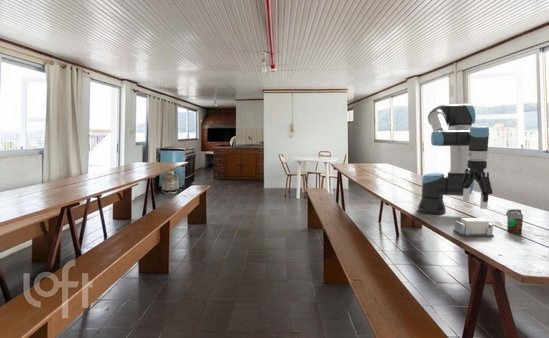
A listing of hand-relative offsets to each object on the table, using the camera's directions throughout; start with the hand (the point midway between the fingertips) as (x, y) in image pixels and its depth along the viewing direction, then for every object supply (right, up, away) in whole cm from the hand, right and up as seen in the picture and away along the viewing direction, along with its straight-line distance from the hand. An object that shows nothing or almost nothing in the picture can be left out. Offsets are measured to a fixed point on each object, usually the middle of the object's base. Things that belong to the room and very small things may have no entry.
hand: (474, 204), depth 147 cm
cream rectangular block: (0, -13, +1) cm, 13 cm away
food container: (+21, -14, +4) cm, 25 cm away
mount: (0, -14, +1) cm, 14 cm away
